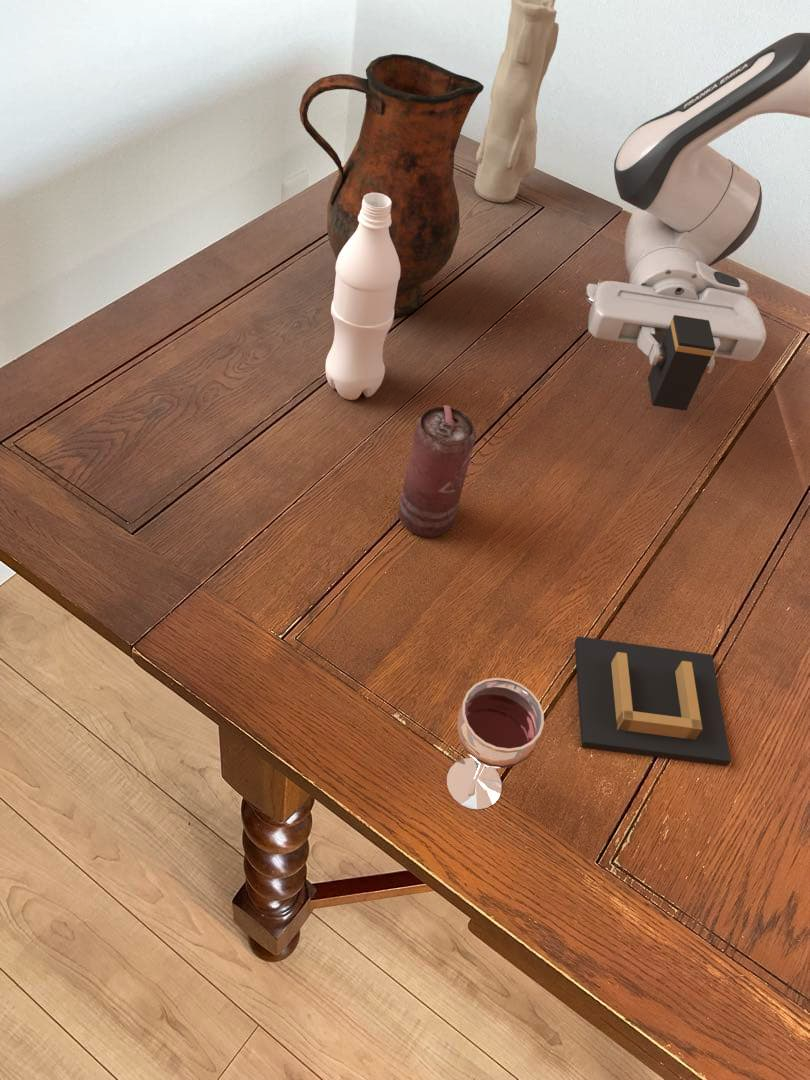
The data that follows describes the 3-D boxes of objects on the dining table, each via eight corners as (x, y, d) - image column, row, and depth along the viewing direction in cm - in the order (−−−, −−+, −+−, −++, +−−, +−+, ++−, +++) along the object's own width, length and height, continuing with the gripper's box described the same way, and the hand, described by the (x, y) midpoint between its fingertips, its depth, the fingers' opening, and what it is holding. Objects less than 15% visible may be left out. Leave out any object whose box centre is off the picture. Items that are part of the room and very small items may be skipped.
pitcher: (456, 332, 129) (505, 111, 106) (297, 336, 123) (313, 104, 101) (428, 260, 139) (467, 44, 116) (280, 260, 134) (291, 35, 111)
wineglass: (475, 735, 89) (503, 663, 80) (527, 789, 86) (562, 721, 77) (420, 776, 86) (443, 705, 77) (473, 834, 83) (503, 767, 74)
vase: (489, 173, 158) (533, -27, 135) (533, 194, 155) (585, -6, 133) (461, 191, 153) (502, -13, 130) (506, 214, 150) (556, 9, 128)
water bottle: (336, 410, 115) (358, 222, 97) (315, 372, 119) (332, 185, 101) (391, 400, 118) (422, 215, 99) (368, 363, 122) (394, 179, 103)
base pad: (708, 659, 99) (719, 643, 96) (726, 766, 91) (739, 750, 88) (574, 641, 98) (582, 624, 96) (581, 747, 90) (590, 731, 88)
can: (446, 495, 109) (469, 401, 98) (457, 538, 105) (483, 444, 94) (393, 497, 107) (411, 401, 97) (403, 540, 103) (423, 445, 93)
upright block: (681, 382, 114) (709, 319, 107) (686, 411, 110) (716, 348, 104) (647, 377, 114) (673, 314, 107) (651, 406, 110) (679, 342, 103)
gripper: (591, 257, 114) (599, 327, 105) (760, 283, 115) (782, 355, 106) (577, 301, 119) (584, 373, 109) (739, 326, 120) (759, 399, 111)
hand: (683, 364), depth 108 cm, fingers closed on upright block, 4 cm apart
